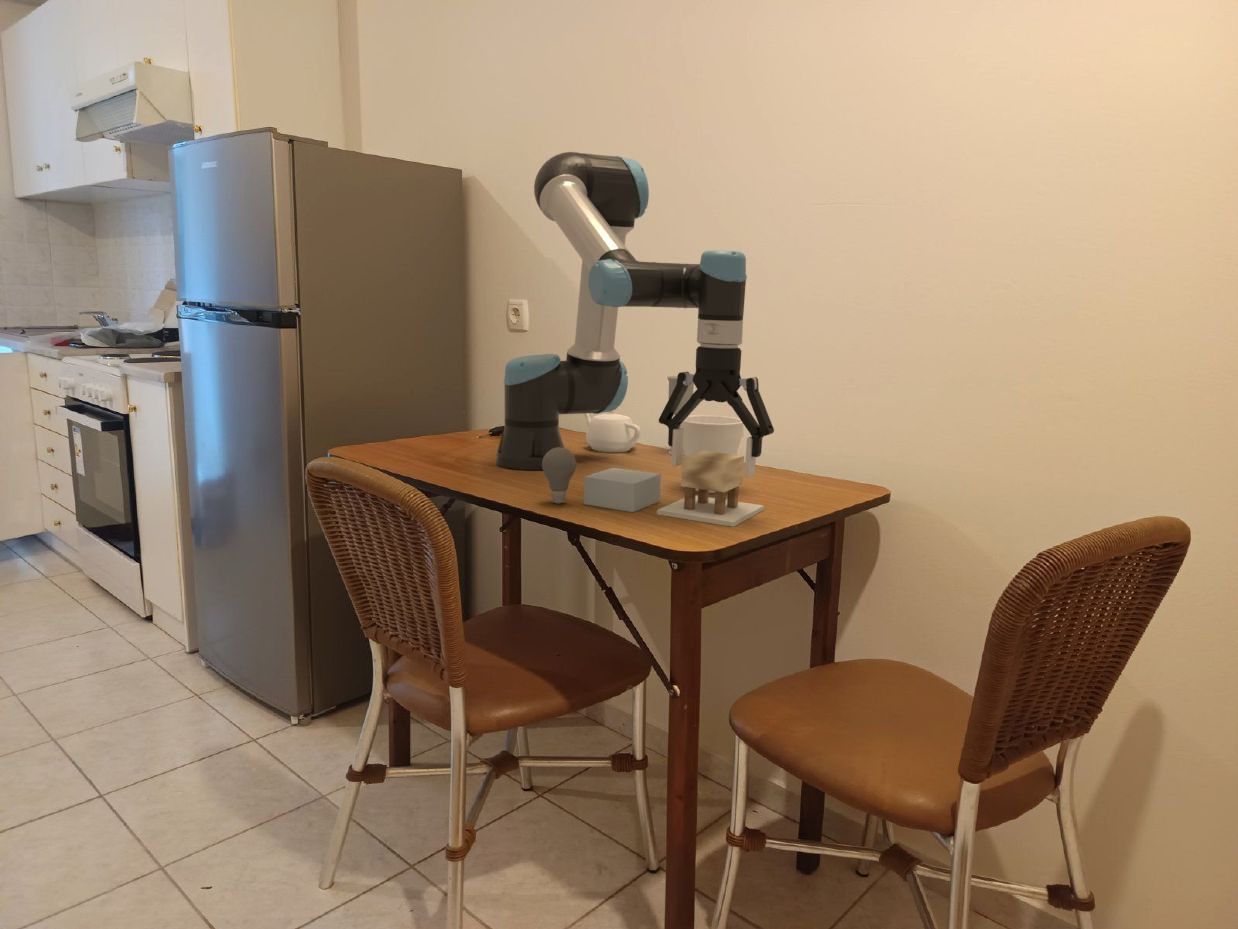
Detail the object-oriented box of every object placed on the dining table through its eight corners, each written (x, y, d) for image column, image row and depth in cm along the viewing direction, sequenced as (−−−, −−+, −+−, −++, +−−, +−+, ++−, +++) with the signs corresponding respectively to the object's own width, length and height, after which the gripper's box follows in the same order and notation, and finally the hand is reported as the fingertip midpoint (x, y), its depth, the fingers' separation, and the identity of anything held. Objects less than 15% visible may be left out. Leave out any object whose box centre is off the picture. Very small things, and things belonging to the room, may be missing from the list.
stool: (680, 509, 149) (682, 457, 148) (699, 500, 156) (701, 450, 155) (723, 515, 146) (726, 462, 144) (741, 506, 152) (744, 455, 151)
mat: (656, 514, 149) (656, 509, 148) (691, 499, 160) (691, 494, 160) (733, 526, 142) (733, 522, 142) (763, 509, 154) (764, 505, 154)
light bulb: (548, 508, 151) (548, 451, 149) (537, 500, 156) (537, 445, 154) (580, 505, 153) (581, 449, 151) (568, 498, 158) (569, 444, 157)
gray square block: (583, 504, 154) (584, 476, 153) (612, 493, 163) (612, 467, 162) (633, 512, 150) (634, 483, 149) (659, 501, 158) (660, 474, 157)
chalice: (690, 456, 203) (694, 379, 200) (662, 454, 205) (664, 378, 201) (694, 451, 210) (697, 376, 207) (666, 449, 212) (669, 375, 208)
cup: (751, 494, 165) (755, 423, 163) (690, 497, 162) (693, 424, 159) (725, 481, 177) (728, 414, 174) (668, 483, 174) (670, 415, 171)
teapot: (563, 445, 214) (564, 404, 212) (601, 441, 222) (602, 401, 220) (619, 458, 200) (620, 413, 198) (657, 452, 208) (658, 410, 206)
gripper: (642, 342, 148) (638, 464, 153) (783, 351, 137) (774, 483, 141) (662, 340, 155) (657, 458, 159) (798, 349, 143) (789, 476, 147)
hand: (712, 470), depth 150 cm, fingers open, 13 cm apart
